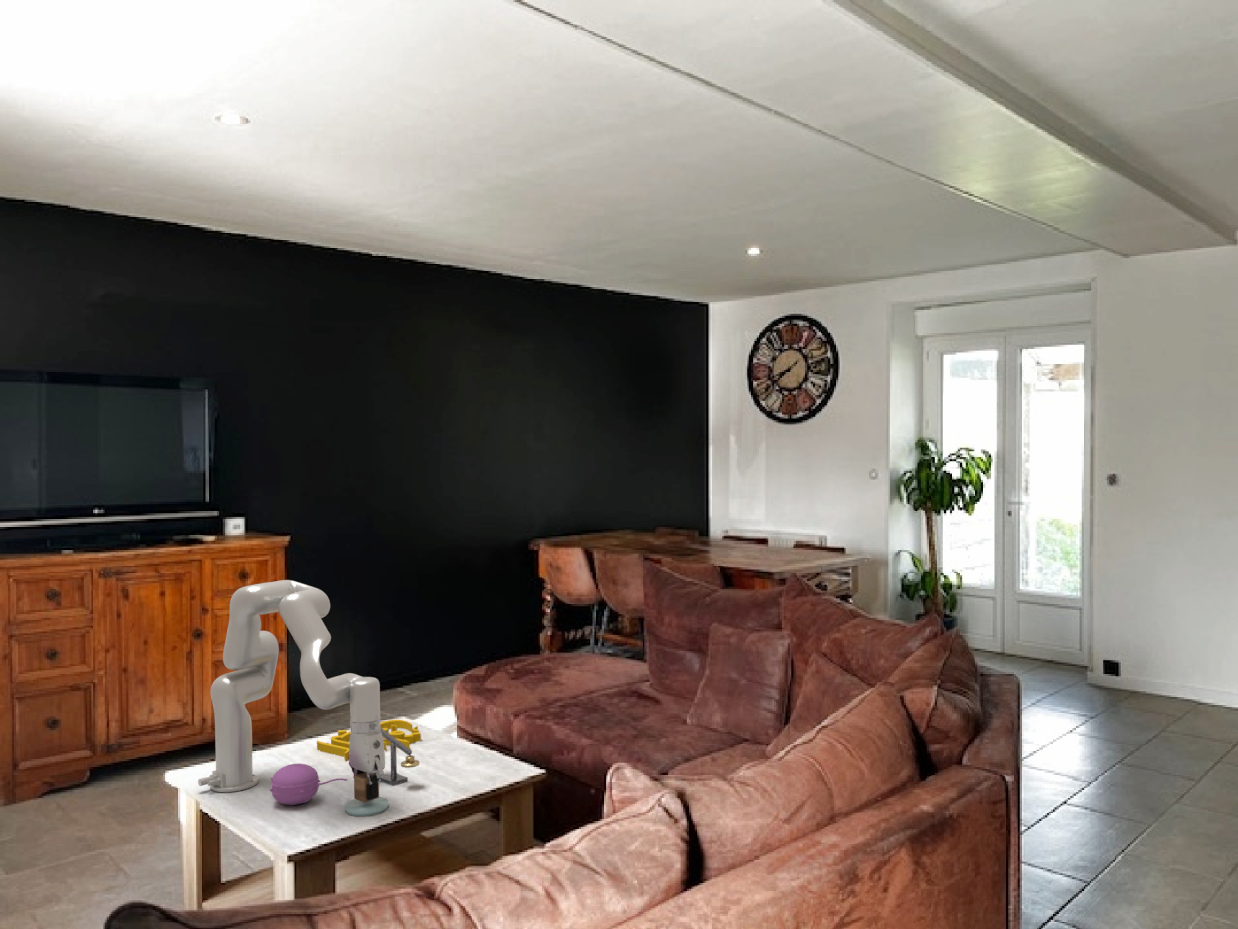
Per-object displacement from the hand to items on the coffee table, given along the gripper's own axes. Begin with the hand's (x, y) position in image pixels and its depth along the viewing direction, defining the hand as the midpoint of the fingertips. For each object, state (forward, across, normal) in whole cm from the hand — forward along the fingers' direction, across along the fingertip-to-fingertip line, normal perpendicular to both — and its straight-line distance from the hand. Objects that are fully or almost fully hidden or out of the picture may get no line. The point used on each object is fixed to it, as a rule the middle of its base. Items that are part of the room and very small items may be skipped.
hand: (366, 795), depth 243 cm
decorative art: (+4, +47, -35) cm, 59 cm away
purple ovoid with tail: (+4, +16, +8) cm, 18 cm away
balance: (+3, +12, -17) cm, 21 cm away
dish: (+3, 0, 0) cm, 3 cm away
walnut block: (+1, 0, 0) cm, 1 cm away
